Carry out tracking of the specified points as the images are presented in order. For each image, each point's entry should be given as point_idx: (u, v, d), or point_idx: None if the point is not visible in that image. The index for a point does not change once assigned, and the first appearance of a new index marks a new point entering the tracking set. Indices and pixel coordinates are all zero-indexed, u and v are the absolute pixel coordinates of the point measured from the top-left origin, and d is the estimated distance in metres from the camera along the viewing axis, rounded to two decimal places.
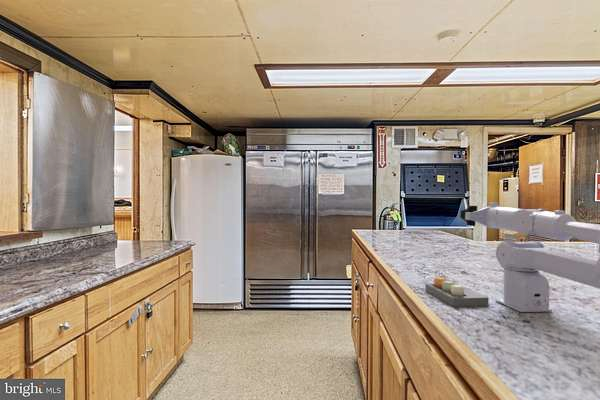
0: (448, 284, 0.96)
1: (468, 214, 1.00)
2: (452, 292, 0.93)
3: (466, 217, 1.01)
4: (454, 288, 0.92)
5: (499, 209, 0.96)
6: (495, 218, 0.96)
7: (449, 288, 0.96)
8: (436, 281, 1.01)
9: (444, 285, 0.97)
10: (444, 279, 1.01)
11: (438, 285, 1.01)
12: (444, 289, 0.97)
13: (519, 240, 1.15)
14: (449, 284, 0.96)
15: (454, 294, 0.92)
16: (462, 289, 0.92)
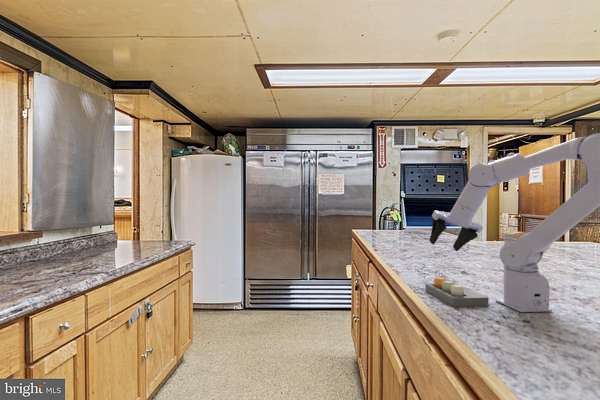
0: (448, 284, 0.96)
1: (434, 212, 1.02)
2: (452, 292, 0.93)
3: (434, 216, 1.02)
4: (454, 288, 0.92)
5: None
6: (458, 202, 1.01)
7: (449, 288, 0.96)
8: (436, 281, 1.01)
9: (444, 285, 0.97)
10: (444, 279, 1.01)
11: (438, 285, 1.01)
12: (444, 289, 0.97)
13: None
14: (449, 284, 0.96)
15: (454, 294, 0.92)
16: (462, 289, 0.92)
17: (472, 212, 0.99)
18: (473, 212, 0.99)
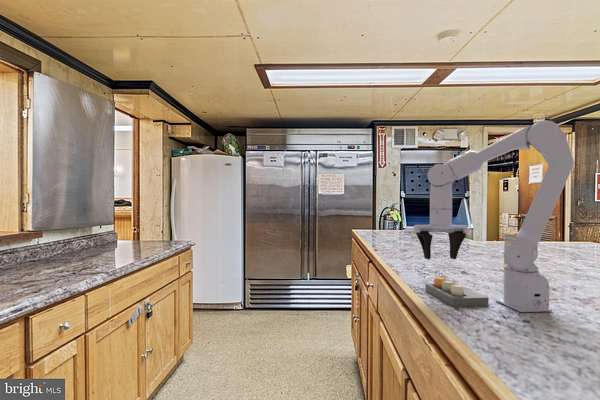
0: (448, 284, 0.96)
1: (414, 226, 1.02)
2: (452, 292, 0.93)
3: (415, 229, 1.01)
4: (454, 288, 0.92)
5: None
6: (431, 208, 1.02)
7: (449, 288, 0.96)
8: (436, 281, 1.01)
9: (444, 285, 0.97)
10: (444, 279, 1.01)
11: (438, 285, 1.01)
12: (444, 289, 0.97)
13: None
14: (449, 284, 0.96)
15: (454, 294, 0.92)
16: (462, 289, 0.92)
17: (448, 211, 0.99)
18: (449, 211, 0.99)
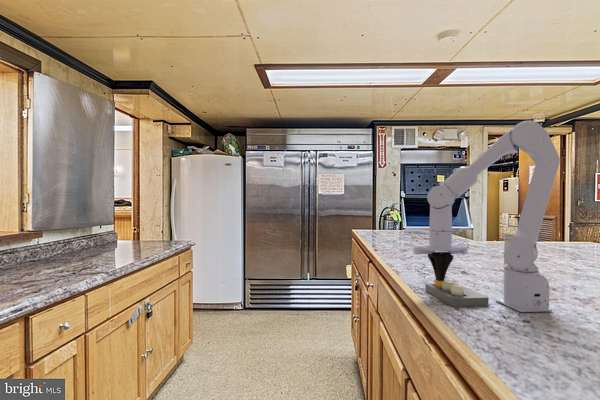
0: (448, 284, 0.96)
1: (414, 248, 1.02)
2: (452, 292, 0.93)
3: (415, 251, 1.01)
4: (454, 288, 0.92)
5: None
6: (430, 230, 1.02)
7: (449, 288, 0.96)
8: (436, 282, 1.01)
9: (444, 285, 0.97)
10: None
11: (438, 286, 1.01)
12: (444, 289, 0.97)
13: None
14: (449, 284, 0.96)
15: (454, 294, 0.92)
16: (462, 289, 0.92)
17: (447, 233, 0.99)
18: (448, 233, 0.99)
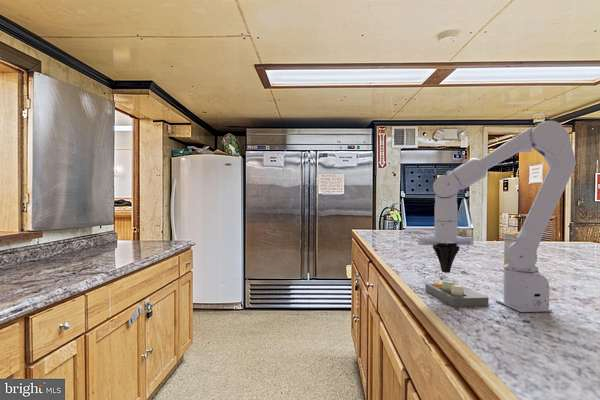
0: (448, 284, 0.96)
1: (418, 239, 0.99)
2: (452, 292, 0.93)
3: (420, 242, 0.98)
4: (454, 288, 0.92)
5: None
6: (435, 220, 0.99)
7: (449, 288, 0.96)
8: (436, 286, 1.01)
9: (444, 285, 0.97)
10: None
11: None
12: (444, 289, 0.97)
13: None
14: (449, 284, 0.96)
15: (454, 294, 0.92)
16: (462, 289, 0.92)
17: (453, 224, 0.97)
18: (454, 223, 0.97)
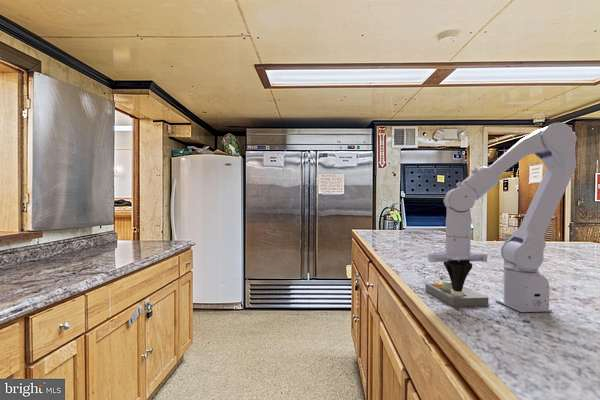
0: (448, 284, 0.96)
1: (429, 255, 0.93)
2: None
3: (430, 259, 0.92)
4: (454, 292, 0.92)
5: None
6: (447, 236, 0.93)
7: (449, 288, 0.96)
8: (436, 286, 1.01)
9: (444, 285, 0.97)
10: None
11: None
12: (444, 289, 0.97)
13: None
14: (449, 284, 0.96)
15: None
16: (462, 293, 0.92)
17: (466, 239, 0.90)
18: (467, 239, 0.91)
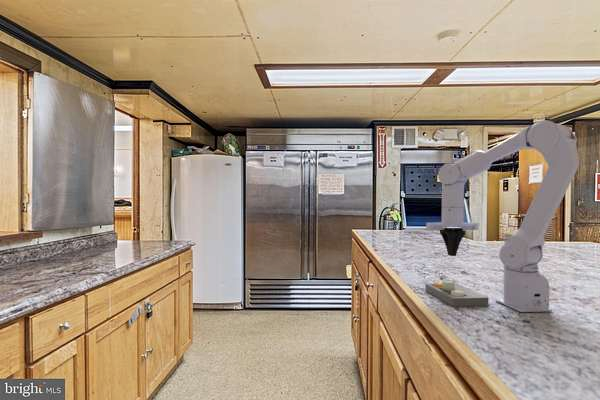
0: (448, 284, 0.96)
1: (427, 224, 1.05)
2: None
3: (428, 227, 1.04)
4: (454, 293, 0.92)
5: None
6: (443, 207, 1.05)
7: (449, 288, 0.96)
8: (436, 286, 1.01)
9: (444, 285, 0.97)
10: None
11: None
12: (444, 289, 0.97)
13: None
14: (449, 284, 0.96)
15: None
16: (462, 294, 0.92)
17: (459, 209, 1.02)
18: (460, 209, 1.02)
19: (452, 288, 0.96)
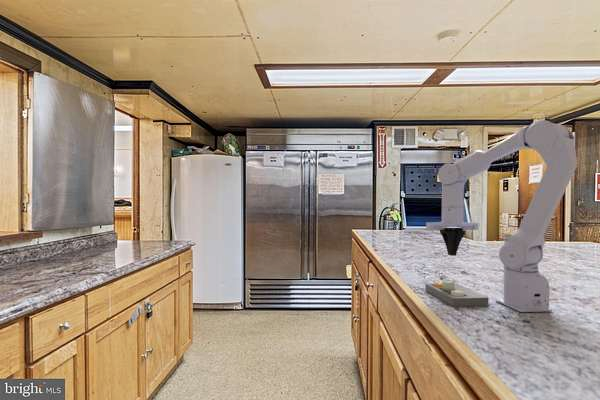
0: (448, 284, 0.96)
1: (427, 224, 1.05)
2: None
3: (428, 227, 1.04)
4: (454, 293, 0.92)
5: None
6: (443, 206, 1.05)
7: (449, 288, 0.96)
8: (436, 286, 1.01)
9: (444, 285, 0.97)
10: None
11: None
12: (444, 289, 0.97)
13: None
14: (449, 284, 0.96)
15: None
16: (462, 294, 0.92)
17: (459, 209, 1.03)
18: (460, 209, 1.03)
19: (452, 288, 0.96)
